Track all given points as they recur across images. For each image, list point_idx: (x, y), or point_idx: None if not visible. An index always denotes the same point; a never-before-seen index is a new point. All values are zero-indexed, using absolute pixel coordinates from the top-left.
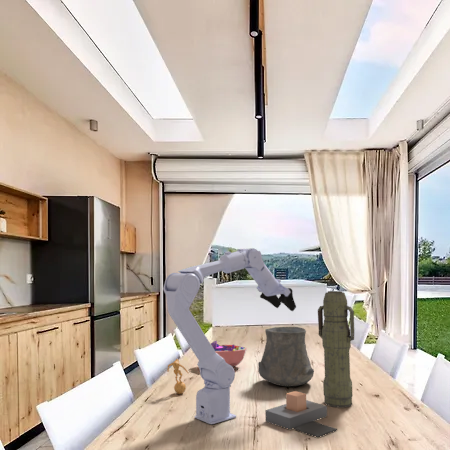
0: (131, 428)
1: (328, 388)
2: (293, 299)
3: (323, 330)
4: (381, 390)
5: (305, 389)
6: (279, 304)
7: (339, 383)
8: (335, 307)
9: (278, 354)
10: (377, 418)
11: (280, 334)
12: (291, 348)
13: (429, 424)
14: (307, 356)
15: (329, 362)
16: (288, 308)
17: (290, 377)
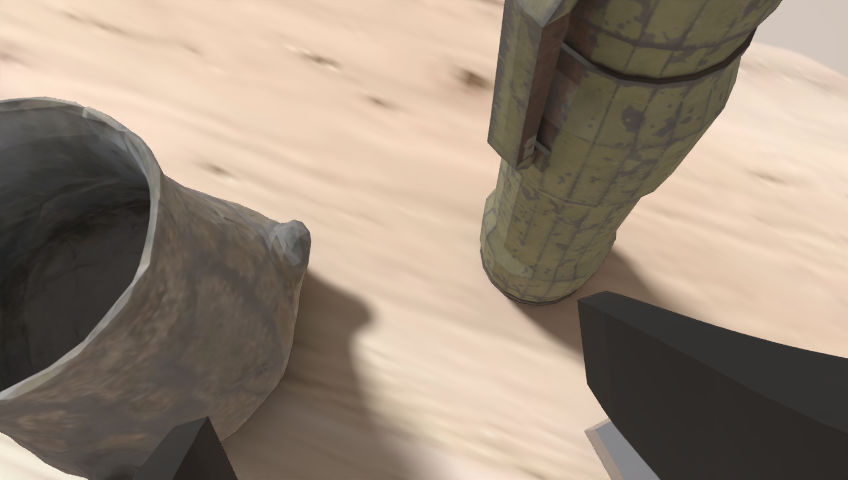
0: None
1: (577, 282)
2: (758, 341)
3: (633, 148)
4: (421, 37)
5: (309, 291)
6: (218, 458)
7: (614, 235)
8: None
9: (179, 388)
10: (731, 207)
11: (103, 346)
12: (206, 296)
13: (801, 93)
14: (208, 199)
15: (608, 228)
16: (642, 452)
17: (289, 354)
